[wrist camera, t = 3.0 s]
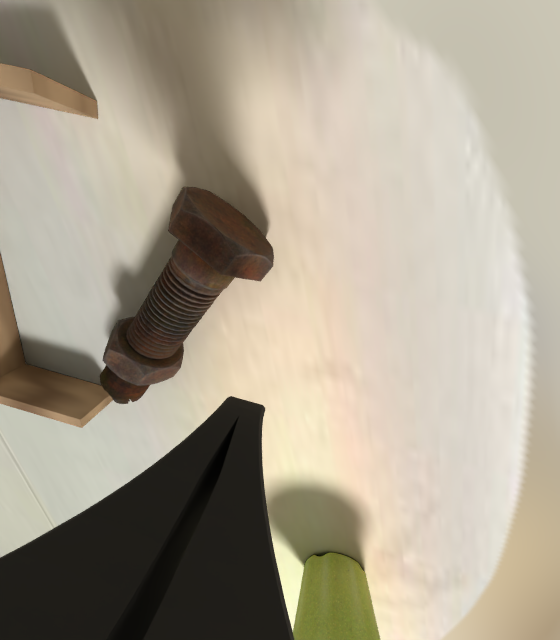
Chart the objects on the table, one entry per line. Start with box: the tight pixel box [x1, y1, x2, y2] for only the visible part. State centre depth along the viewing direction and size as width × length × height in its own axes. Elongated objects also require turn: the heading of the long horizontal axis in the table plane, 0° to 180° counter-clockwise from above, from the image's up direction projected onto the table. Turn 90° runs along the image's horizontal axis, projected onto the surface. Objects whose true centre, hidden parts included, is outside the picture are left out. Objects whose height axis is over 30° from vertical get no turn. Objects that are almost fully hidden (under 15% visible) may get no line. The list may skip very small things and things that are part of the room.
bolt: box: [100, 187, 274, 404], centre depth 16 cm, size 6×5×15 cm
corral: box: [0, 63, 113, 428], centre depth 17 cm, size 9×21×4 cm, turn 168°
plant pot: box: [293, 553, 380, 640], centre depth 23 cm, size 9×9×9 cm
